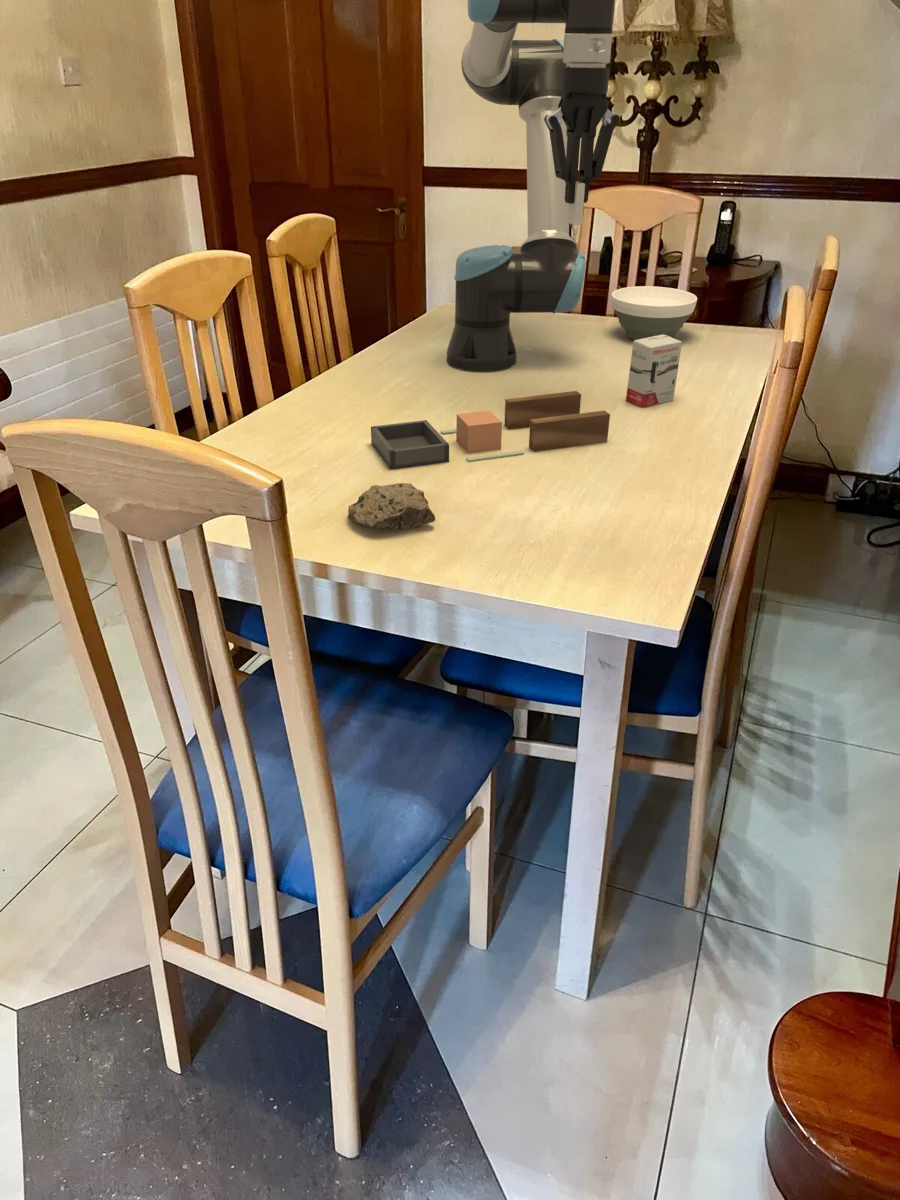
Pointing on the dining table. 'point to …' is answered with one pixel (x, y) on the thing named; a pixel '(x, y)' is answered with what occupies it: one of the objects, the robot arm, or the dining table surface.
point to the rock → (392, 507)
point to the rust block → (478, 431)
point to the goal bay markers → (484, 457)
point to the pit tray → (409, 444)
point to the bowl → (652, 310)
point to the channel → (556, 420)
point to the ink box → (653, 370)
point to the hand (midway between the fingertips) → (574, 223)
